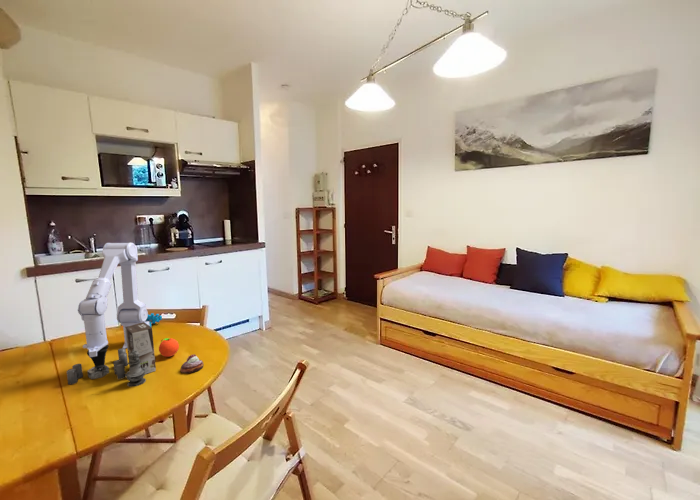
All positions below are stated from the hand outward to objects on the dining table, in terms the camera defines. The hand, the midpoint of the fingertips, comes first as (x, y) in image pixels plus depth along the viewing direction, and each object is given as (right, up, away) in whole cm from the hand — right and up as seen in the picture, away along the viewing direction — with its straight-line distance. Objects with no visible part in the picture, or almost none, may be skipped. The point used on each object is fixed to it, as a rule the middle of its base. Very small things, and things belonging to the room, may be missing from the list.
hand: (100, 367), depth 118 cm
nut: (+2, -2, -3) cm, 4 cm away
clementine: (+18, 0, +11) cm, 22 cm away
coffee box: (+15, -1, +1) cm, 15 cm away
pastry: (+33, -1, +1) cm, 33 cm away
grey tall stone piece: (+18, -2, -8) cm, 20 cm away
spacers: (+1, -1, -2) cm, 2 cm away
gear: (-7, +5, +41) cm, 42 cm away
